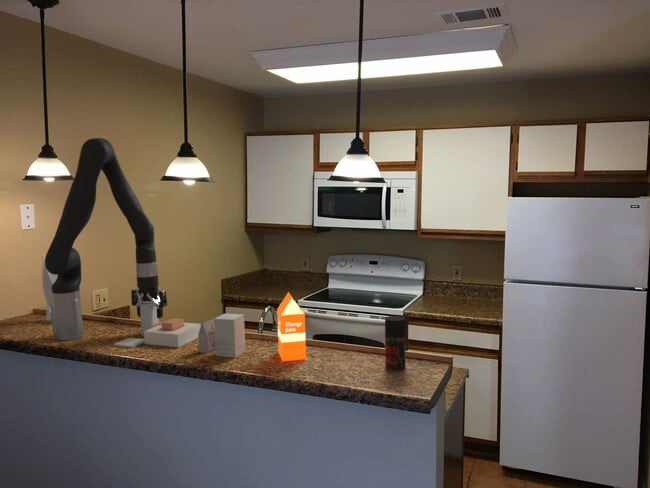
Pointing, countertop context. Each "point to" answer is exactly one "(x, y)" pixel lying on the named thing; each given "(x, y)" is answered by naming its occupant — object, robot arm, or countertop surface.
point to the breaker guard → (172, 335)
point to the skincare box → (148, 316)
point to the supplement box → (229, 335)
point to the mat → (130, 342)
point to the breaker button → (172, 324)
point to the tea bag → (207, 337)
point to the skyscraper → (48, 290)
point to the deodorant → (395, 343)
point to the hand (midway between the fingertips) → (150, 317)
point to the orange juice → (291, 330)
